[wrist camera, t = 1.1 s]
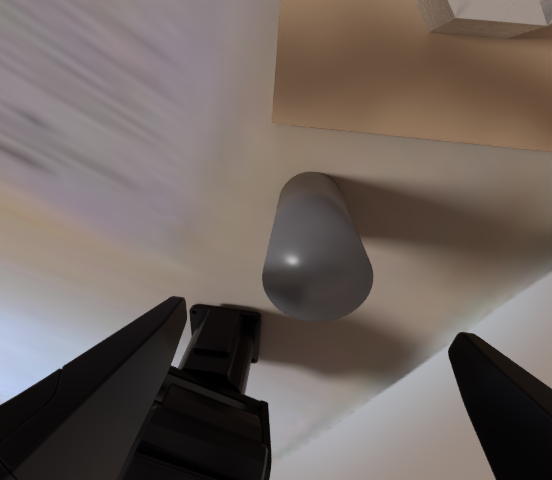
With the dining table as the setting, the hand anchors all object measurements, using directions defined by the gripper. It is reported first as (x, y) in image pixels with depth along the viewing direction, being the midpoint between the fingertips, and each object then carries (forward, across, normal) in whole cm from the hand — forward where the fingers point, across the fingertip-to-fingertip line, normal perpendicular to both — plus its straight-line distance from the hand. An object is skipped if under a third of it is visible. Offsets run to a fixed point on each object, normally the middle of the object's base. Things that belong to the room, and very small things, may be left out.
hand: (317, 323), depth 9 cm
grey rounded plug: (+11, 0, 0) cm, 11 cm away
